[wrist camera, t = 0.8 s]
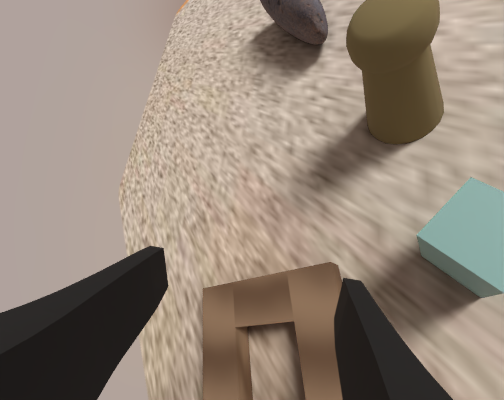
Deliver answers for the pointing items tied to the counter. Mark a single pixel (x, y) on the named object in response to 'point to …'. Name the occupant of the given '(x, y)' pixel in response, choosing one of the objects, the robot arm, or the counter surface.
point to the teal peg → (469, 238)
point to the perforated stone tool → (299, 18)
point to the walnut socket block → (268, 312)
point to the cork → (397, 67)
